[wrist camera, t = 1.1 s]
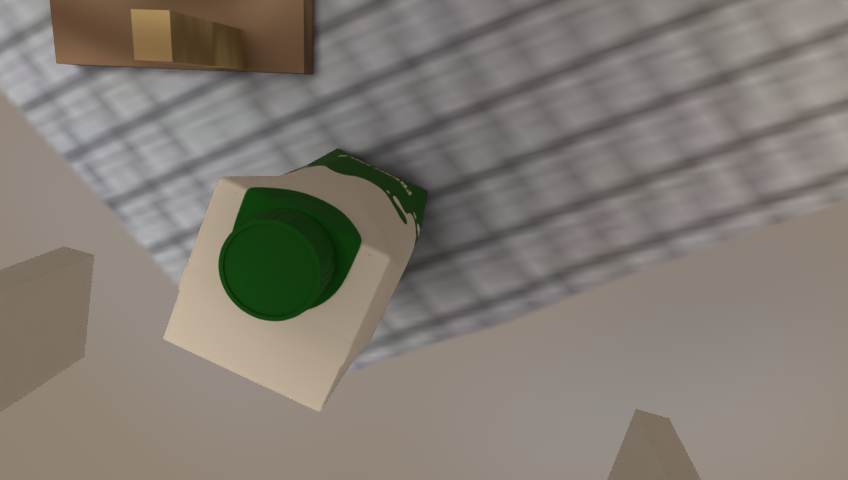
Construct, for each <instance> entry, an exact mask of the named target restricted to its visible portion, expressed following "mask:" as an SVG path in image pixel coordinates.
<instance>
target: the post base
mask: <svg viewBox="0 0 848 480" xmlns="http://www.w3.org/2000/svg"><path fill="white" fill-rule="evenodd" d="M50 7H51V16H52V25H53V35H54V44H55V54H56V63H58V64H72V65H92V66H117V67H142V68H167V69H192V70H217V71H242V72H266V73H291V74H313V0H50Z"/></svg>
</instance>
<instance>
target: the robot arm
mask: <svg viewBox="0 0 848 480" xmlns="http://www.w3.org/2000/svg"><path fill="white" fill-rule="evenodd" d="M93 261H94V255H92V254H89V253H86V252H82V251H78V250H75V249H71V248H68V247H61V248H58V249H56V250H53V251H50V252H48V253H45V254H42V255H40V256H37V257H34V258H32V259H29V260H26V261H24V262H21V263H18V264H16V265H13V266H10V267H8V268H5V269H2V270H0V412H1V411H3V410H4V409H6V408H7V407H9V406H10V405H12V404H13V403H15V402H16V401H18V400H19V399H21V398H22V397H24V396H26V395H27V394H29V393H30V392H31V391H33V390H35V389H36V388H37V387H39V386H41V385H42V384H44V383H45V382H47V381H48V380H50V379H51V378H53V377H54V376H56V375H57V374H59V373H60V372H62V371H63V370H65V369H66V368H68V367H69V366H71V365H72V364H74V363H75V362H77V361H78V360H80V359H82V358H83V357H84V355H85V344H86V333H87V324H88V313H89V302H90V293H91V282H92V271H93ZM608 480H701V479H700V477H699V475H698V473H697V471H696V469H695V467H694V465H693V463H692V461H691V460H690V458H689V456H688V454H687V452H686V450H685V448H684V446H683V444H682V442H681V441H680V439H679V437H678V435H677V433H676V431H675V429H674V427H673V425H672V423H671V421H670V419H669V418H665V417H662V416H658V415H655V414H651V413H648V412H644V411H641V410H637V409H636V410H635V413H634V415H633V418H632V420H631V423H630V425H629V428H628V430H627V432H626V435H625V438H624V440H623V443H622V445H621V447H620V450H619V453H618V455H617V458H616V460H615V462H614V465H613V467H612V470H611V472H610V475H609V478H608Z"/></svg>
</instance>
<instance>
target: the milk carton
mask: <svg viewBox="0 0 848 480" xmlns="http://www.w3.org/2000/svg"><path fill="white" fill-rule="evenodd" d="M426 196H427V191H426V190H424V189H422V188H420V187H418V186H415V185H413V184H411V183H409V182H407V181H405V180H403V179H401V178H398V177H396V176H394V175H392V174H390V173H388V172H386V171H384V170H381V169H379V168H377V167H375V166H373V165H371V164H369V163H366V162H364V161H362V160H360V159H358V158H356V157H354V156H352V155H349V154H347V153H345V152H343V151H341V150H339V149H336V150H334V151H332V152H330V153H329V154H327V155H325V156H323V157H321V158H319V159H318V160H316V161H314V162H312V163H310V164H308V165H307V166H304V167H302V168H299V169H296V170H294V171H291V172H289V173H286V174H283V175H281V176H247V177H222V178H220V179H219V180H218V182H217V185H216V188H215V190H214V193H213V196H212V199H211V201H210V204H209V207H208V209H207V212H206V215H205V217H204V220H203V223H202V226H201V228H200V231H199V234H198V236H197V239H196V242H195V244H194V247H193V250H192V253H191V255H190V258H189V261H188V264H187V265H186V267H185V269H184V271H183V274H182V277H181V280H180V283H179V286H178V289H179V290H180V292H179V295H178V298H177V301H176V304H175V307H174V309H173V312H172V315H171V318H170V321H169V324H168V326H167V329H166V332H165V335H164V339H165V340H167V341H169V342H171V343H173V344H175V345H177V346H179V347H182V348H184V349H186V350H188V351H190V352H192V353H194V354H196V355H198V356H201V357H203V358H205V359H207V360H209V361H211V362H213V363H215V364H218V365H220V366H222V367H224V368H226V369H228V370H230V371H233V372H235V373H237V374H239V375H241V376H243V377H245V378H247V379H250V380H252V381H254V382H256V383H258V384H260V385H262V386H265V387H267V388H269V389H271V390H273V391H275V392H277V393H280V394H282V395H284V396H286V397H288V398H290V399H292V400H294V401H296V402H299V403H301V404H303V405H305V406H307V407H310V408H311V409H314V410H316V411H318V412H320V411H321V410H322V408H323V406H324V405H325V403H326V402H327V400H328V399H329V397H330V395H331V394H332V392H333V391H334V389H335V387H336V386H337V384H338V383H339V381H340V379H341V378H342V376H343V375H344V374H345V372H346V371H347V369H348V368H349V366H350V365H351V363H352V362H353V360H354V359H355V357H356V356H357V355H358V354H359V353H360V352H361V351H362V350H363V349H364V348H365V346H366V345H367V344H368V343H369V341H370V340H371V338H372V336H373V334H374V332H375V329H376V327H377V325H378V323H379V321H380V319H381V317H382V315H383V313H384V311H385V309H386V307H387V305H388V303H389V301H390V299H391V297H392V295H393V293H394V291H395V289H396V287H397V285H398V283H399V281H400V279H401V277H402V275H403V273H404V270H405V268H406V266H407V264H408V262H409V259H410V257H411V255H412V252H413V250H414V247H415V245H416V242H417V239H418V237H419V234H420V229H421V225H422V220H423V214H424V209H425V203H426Z"/></svg>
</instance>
